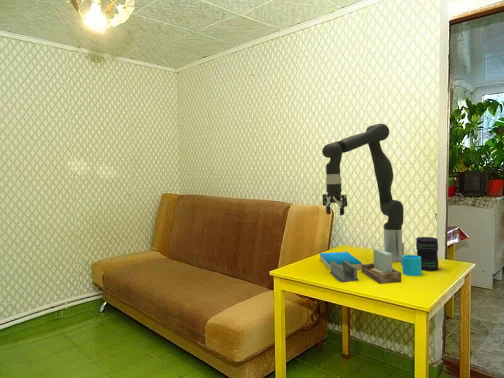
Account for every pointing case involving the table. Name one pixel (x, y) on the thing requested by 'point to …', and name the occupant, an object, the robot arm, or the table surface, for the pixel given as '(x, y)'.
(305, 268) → the table surface
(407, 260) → the mug
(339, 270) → the charcoal stand
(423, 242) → the storage jar
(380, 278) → the brown wooden tray
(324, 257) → the book
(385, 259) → the blue-grey panel
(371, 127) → the robot arm
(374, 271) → the birch offcut
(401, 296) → the table surface
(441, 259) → the table surface
